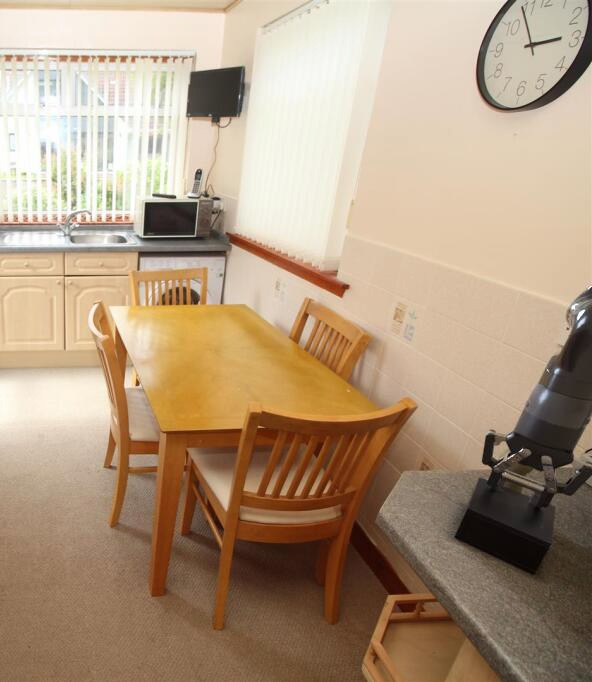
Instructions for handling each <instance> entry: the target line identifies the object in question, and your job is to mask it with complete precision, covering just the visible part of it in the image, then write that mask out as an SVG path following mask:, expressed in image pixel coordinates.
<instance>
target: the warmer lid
mask: <svg viewBox="0 0 592 682" xmlns="http://www.w3.org/2000/svg"><path fill="white" fill-rule="evenodd" d="M506 481H508V482H511V483H514V484H516V485H519V486H521V487H523V489H527V490H529V491H531V492H533V493H532V495H531V496H529V495H527V494H524V493H522V492H521V493H519V492H516V491H514V490H511V489H509V488H506V487H504V484H505V482H506ZM475 485H476V486H474V488H475V489H474V488H473V490H474V491H473V490H472V492H473V494H472V493H471V494H472V497H471V500H470V502H469V505H468V508H467V510H466V512H469V513H471V514H473V515H476V516H478V517H480V518H483V519H485V520H487V521H489V522H492V523H494V524H496V525H499V526H501V527H503V528H506V529H508V530H510V531H512V532H515V533H517V534H519V535H522V536H524V537H526V538H529V539H531V540H533V541H535V542H538V543H540V544H542V545H545V546H547V547H549V548H551V546H552V544H553V535H554V525H555V517H556V507H557V506H554V505H552V504H551V503H550V504H549V506H548V507H546V508H544V507H541V509H538V508H536V507H535V503H536V501H537V499H538V497H539V495H540V494H542V493H543V491H544V489H545V486H546V483H543V482H540V481H537V480H535V479H532V478H530V477H527V476H526V477H524V476H522V475H519V474H516V473H513V472H511V471H508V470H504V471H503V473H502V476H501V480H500V482H499V484H498V485H497V487H496V489H495V491H493V490H491V489H490V486H489V485H487V479H486V478H483V477H481V476H479V477H478V478H477V480H476V483H475Z"/></svg>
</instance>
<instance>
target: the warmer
mask: <svg viewBox="0 0 592 682" xmlns="http://www.w3.org/2000/svg"><path fill="white" fill-rule="evenodd" d="M475 486H476V484H475ZM475 486H474V488H473V490H472V492H471V494H470V497H469V499H468V501H467V503H466V506H465V508H464V510H463V513H462V516H461V518H460V521H459V524H458V527H457V529H456V532H455V535H454V539H457V540H458V541H460V542H463V543H464V544H467V545H469V546H471V547H473V548H475V549H477V550H480V551H482V552H484V553H486V554H488V555H490V556H492V557H494V558H497V559H499V560H501V561H503V562H505V563H507V564H509V565H511V566H514V567H516V568H518V569H520V570H522V571H524V572H526V573H529V574H531V575H533V576H535V574H536V573H537V571H538V569H539V567H540V566H541V564H542V562H543V560H544V559H545V557H546V555H547V553H548V552H549V550H550V547H547V546H545V545H542V544H540V543H538V542H535V541H533V540H531V539H529V538H526V537H524V536H522V535H519V534H517V533H515V532H512V531H510V530H508V529H506V528H503V527H501V526H499V525H496V524H494V523H492V522H489V521H487V520H485V519H483V518H480V517H478V516H476V515H473V514H471V513H469V512H466V510H467V508H468V505H469V502H470V500H471V497H472V494H473V491H474V489H475Z"/></svg>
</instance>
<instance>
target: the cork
mask: <svg viewBox="0 0 592 682" xmlns="http://www.w3.org/2000/svg"><path fill="white" fill-rule="evenodd" d="M508 452H510V450H509V448H505V449H502V450H501V451H500V452H499V453H498V455H497V460H499V459H500V458H502V457H503V456H504V455H505V454H507V453H508ZM505 470H508V471H511V472H513V473H516V474H519V475H522V476H524V477H527V474H530V473H532V472H533V471H534V469H533V468H532V467H530V466H524V465H521V464H518V463H516V464H514V465H513V466H511V467H508V468H507V469H505ZM486 480H488V478H487V479H486ZM500 480H501V478H500ZM500 480H499V482H500ZM499 482H498V484H499ZM504 487H506V488H509V489H511V490H514V491H516V492H519V493H522V492H523V489H524V487H521V486H519V485H516V484H514V483H511V482H508V481H506V482H505V484H504Z"/></svg>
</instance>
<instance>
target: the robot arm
mask: <svg viewBox="0 0 592 682" xmlns="http://www.w3.org/2000/svg"><path fill="white" fill-rule="evenodd" d="M565 321H566V323H567V325H568V327H569V328H570V329H571V330H570V333H569V335H568V337H567V339H566V341H565V342H564V344H563V346H562V347H561V350H559V351H556V352H554V353H553V354H552V355H551V357H550V358H549V359H548V361H547V363H546V365H545V366H544V368H543V371H542V373H541V375H540V377H539V379H538V382H537V383H536V385H535V386H534V388H533V389H532V391H531V392H530V394H529V396H528V398H527V401H525V403H524V407H523V409H522V411H521V413H520V416H519V418H518V420H517V421H516V424H515V426H514V428H513V430H512V431H511V432H509V433H507V434H504V433H500V432H497V431H496V430H494V429H488V430H487V431H486V433H485V438H484V444H483V451H482V455H481V463H482V464H483V465H484V466H488V467H489V468H490V469H491V471H490V473H489V475H488V478H487V479H488V480H487V479H486V480H487V485H489V486H490V489H491V490H493V491H495V489H496V487H497V485H498V482H499V480H500V478H501V476H502V473H503V471H504V470H505V469H507V468H508V467H511V466H513V465H514V464H516V463H518V464H521V465H524V466H530V467H532V468H533V470H535V471H538V472H540V473H542V472H543V477H544V481H545V485H546V486H545V489H544V491H543V493H542V494H540V495H539V497H538V499H537V501H536V503H535V507H536V508H538V509H541V507H544V508H546V507H548V506H549V504H550V505H551V502H552V500H553V498H554V497H555V495H557V494H562V495H565V496H568V497H571V496H573V495H575V493H576V492H578V490H579V489H580V488H581V487H582V486H583V485H584V484H585V483H586V482H587V481H588V480H589V479H590V478H591V477H592V462H591V461H583V460H580V459H578V458H577V457H575V455H574V450H575V449H576V447H577V445H578V443H579V441H580V439H581V437H582V436H583V434H584V432H585V430H586V428H587V426H588V425H589V424H590V423H591V421H592V420H591V419H592V285H590V286H589V287H588V288H586V289H585V290H583V291H582V292H581V293H579V294H578V295H577V296H576V297H575V298H574V299H573V301H571V302H570V304H569V306H568V307H567V309H566V311H565ZM503 442H505V443H506V446H507V449H509V450H510V452H508V453H507V454H505V455H504V456H503V457H502V458H500V459H499V460H498V459H496V458H495V457H493V456H494V450H495V447H496V446H500V445H501V443H503ZM569 465H572V469H571V470H572V472H573V473H572V475H571V476H570V477H569V478H568V479H567V480H566V481H565V482H558V479H557V470H556V469H560V468H562V467H565V466H569Z"/></svg>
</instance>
